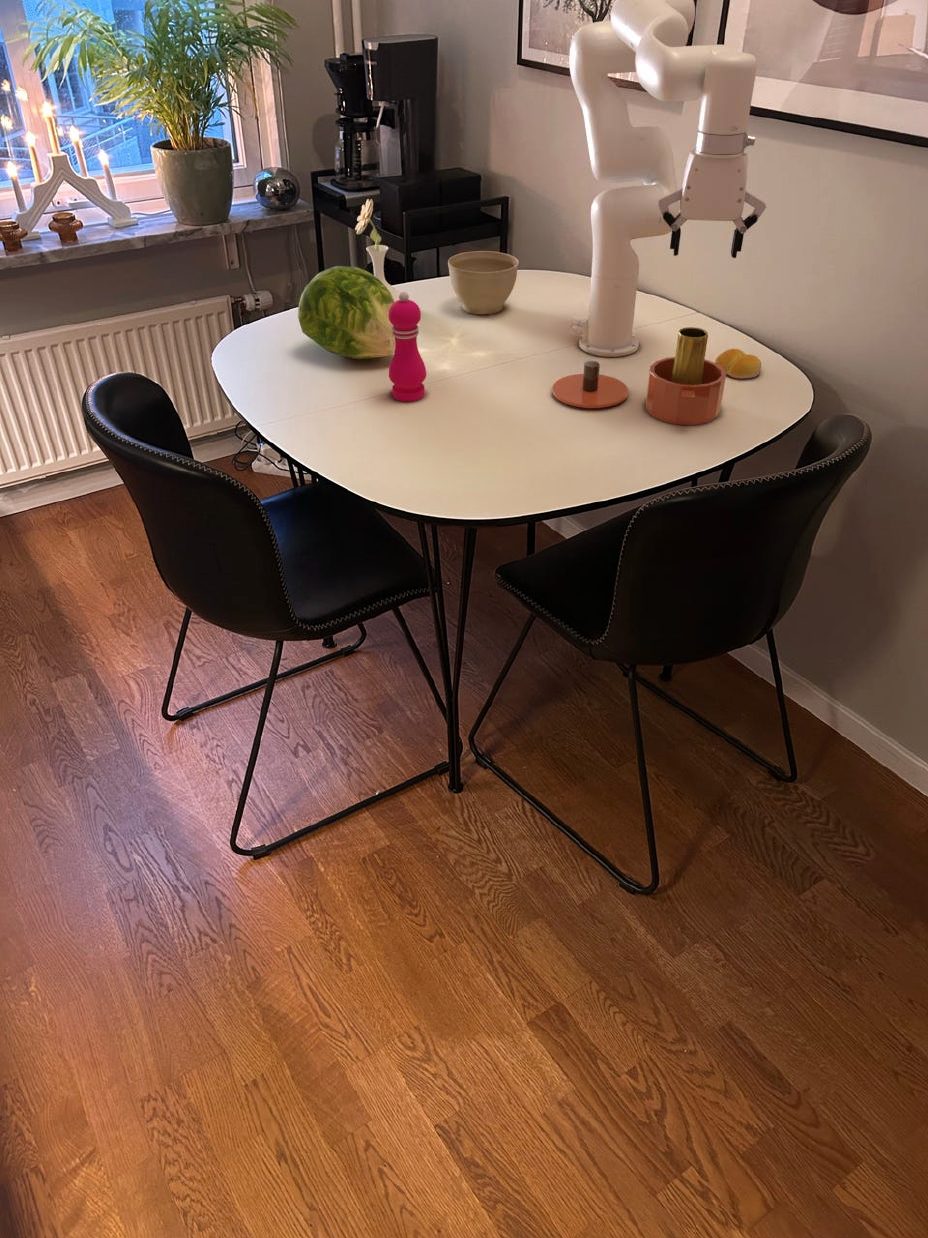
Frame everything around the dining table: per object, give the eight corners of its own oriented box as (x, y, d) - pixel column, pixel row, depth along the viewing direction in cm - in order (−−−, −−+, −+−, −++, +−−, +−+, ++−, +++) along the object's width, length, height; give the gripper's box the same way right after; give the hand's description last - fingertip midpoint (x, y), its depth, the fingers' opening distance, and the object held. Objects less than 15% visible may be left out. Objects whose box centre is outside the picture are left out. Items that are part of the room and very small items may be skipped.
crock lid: (548, 408, 176) (550, 377, 172) (555, 377, 187) (556, 347, 184) (626, 413, 174) (629, 381, 170) (628, 381, 185) (631, 351, 182)
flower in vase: (363, 299, 225) (354, 188, 209) (409, 300, 223) (404, 189, 208) (350, 318, 215) (340, 203, 199) (399, 320, 213) (392, 204, 198)
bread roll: (744, 383, 184) (748, 364, 181) (708, 369, 189) (711, 350, 187) (769, 372, 188) (773, 352, 186) (732, 358, 193) (736, 340, 191)
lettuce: (366, 346, 180) (415, 270, 183) (271, 304, 187) (320, 232, 190) (389, 394, 197) (434, 324, 200) (302, 354, 204) (347, 287, 207)
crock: (645, 429, 169) (649, 390, 164) (646, 385, 184) (650, 349, 179) (721, 433, 167) (728, 394, 162) (716, 389, 182) (722, 352, 177)
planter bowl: (518, 320, 212) (519, 271, 206) (448, 320, 213) (447, 272, 206) (516, 296, 225) (517, 249, 218) (449, 296, 225) (448, 250, 219)
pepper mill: (432, 389, 183) (429, 287, 171) (419, 404, 178) (414, 300, 166) (398, 385, 185) (392, 283, 173) (384, 399, 180) (377, 296, 168)
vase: (679, 416, 172) (690, 341, 163) (659, 403, 176) (668, 329, 167) (705, 409, 174) (717, 334, 165) (685, 396, 178) (695, 323, 169)
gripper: (774, 139, 149) (754, 249, 160) (664, 137, 151) (652, 246, 162) (778, 149, 143) (758, 263, 154) (665, 147, 146) (652, 259, 156)
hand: (704, 254), depth 158 cm, fingers open, 9 cm apart
